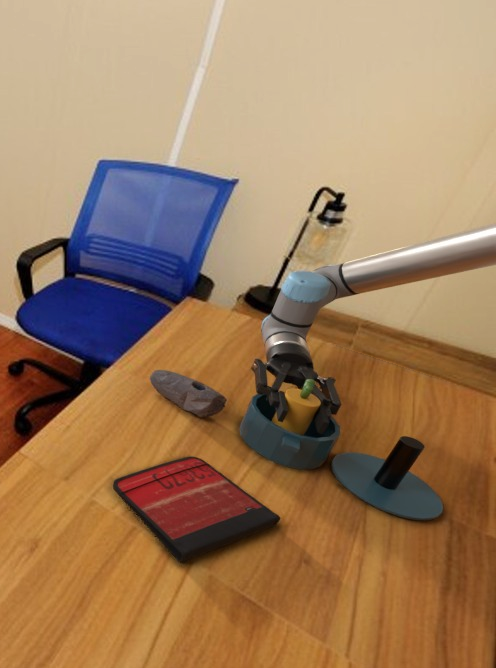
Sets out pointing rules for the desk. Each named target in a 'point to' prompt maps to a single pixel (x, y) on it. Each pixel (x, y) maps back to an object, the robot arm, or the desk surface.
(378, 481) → the pot lid
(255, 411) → the pot
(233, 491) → the binder
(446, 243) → the robot arm
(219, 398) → the perforated stone tool
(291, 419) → the yellow cylinder green stem
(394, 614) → the desk surface
